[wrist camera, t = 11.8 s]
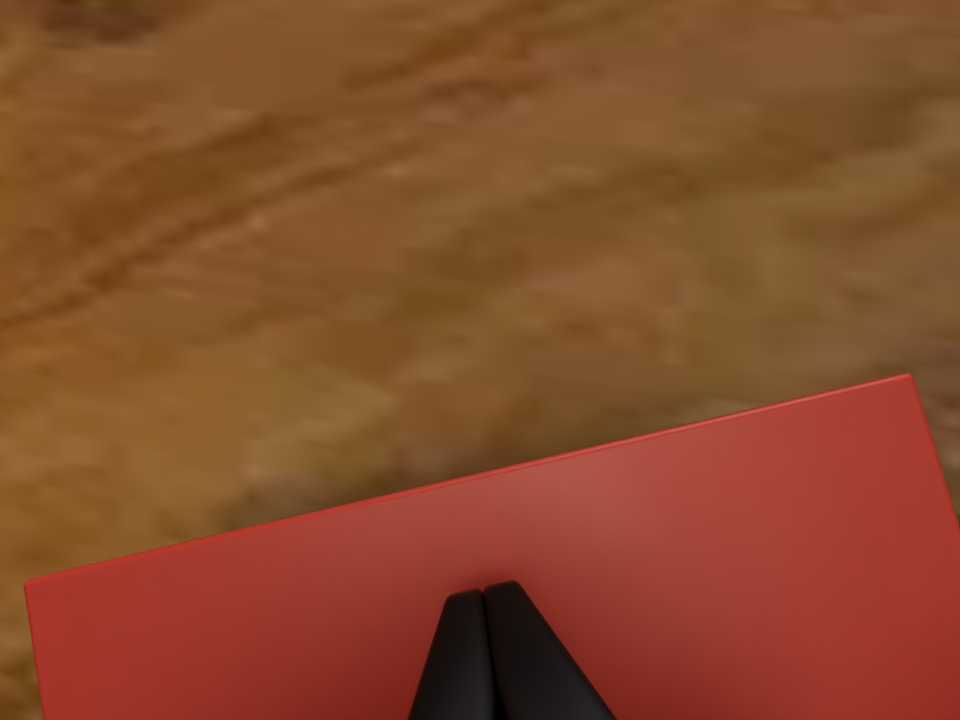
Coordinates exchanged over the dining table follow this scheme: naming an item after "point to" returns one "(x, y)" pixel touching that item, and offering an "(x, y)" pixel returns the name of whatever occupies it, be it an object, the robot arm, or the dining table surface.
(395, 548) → the lid
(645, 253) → the dining table surface
